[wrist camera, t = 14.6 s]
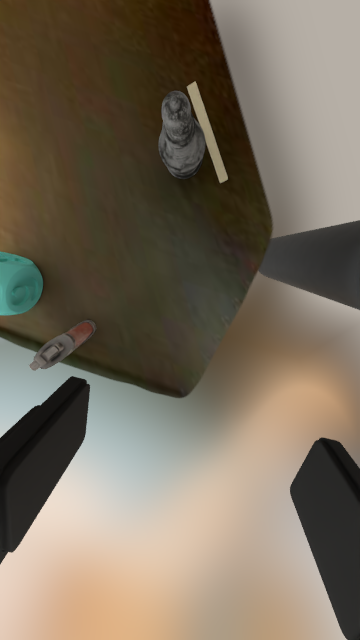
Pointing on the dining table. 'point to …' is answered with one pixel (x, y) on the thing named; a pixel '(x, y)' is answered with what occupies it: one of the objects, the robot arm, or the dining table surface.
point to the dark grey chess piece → (180, 137)
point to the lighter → (63, 345)
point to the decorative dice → (18, 284)
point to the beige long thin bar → (207, 131)
